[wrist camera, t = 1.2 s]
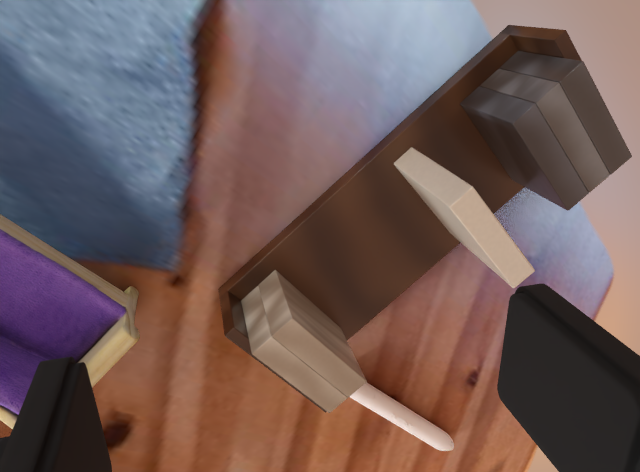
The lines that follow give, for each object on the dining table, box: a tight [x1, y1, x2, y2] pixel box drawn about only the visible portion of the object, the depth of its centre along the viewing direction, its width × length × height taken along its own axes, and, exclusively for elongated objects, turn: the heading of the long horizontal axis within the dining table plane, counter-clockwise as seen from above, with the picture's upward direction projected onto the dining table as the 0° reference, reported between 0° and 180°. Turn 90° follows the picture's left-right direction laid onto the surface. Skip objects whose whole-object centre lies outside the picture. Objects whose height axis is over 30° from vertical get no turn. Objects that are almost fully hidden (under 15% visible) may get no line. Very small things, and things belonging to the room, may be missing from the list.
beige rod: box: [350, 382, 454, 451], centre depth 55 cm, size 18×2×2 cm, turn 47°
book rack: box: [219, 25, 632, 413], centre depth 42 cm, size 32×12×9 cm, turn 130°
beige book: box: [394, 147, 535, 288], centre depth 40 cm, size 2×9×10 cm, turn 40°
